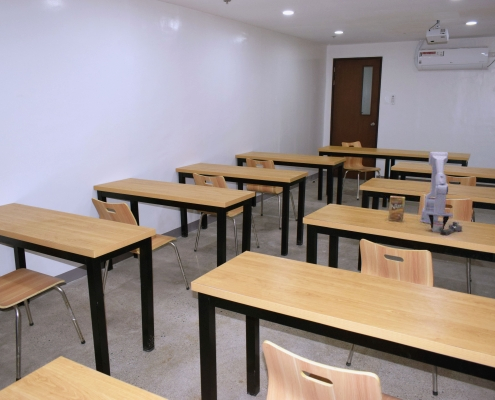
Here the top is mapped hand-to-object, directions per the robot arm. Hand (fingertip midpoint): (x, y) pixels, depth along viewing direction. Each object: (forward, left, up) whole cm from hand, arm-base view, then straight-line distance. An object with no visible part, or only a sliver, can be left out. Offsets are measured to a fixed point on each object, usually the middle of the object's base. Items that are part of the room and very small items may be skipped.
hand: (437, 228), depth 252 cm
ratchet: (+6, +4, -2) cm, 7 cm away
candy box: (-28, +3, -2) cm, 28 cm away
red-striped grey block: (0, 0, -2) cm, 2 cm away
